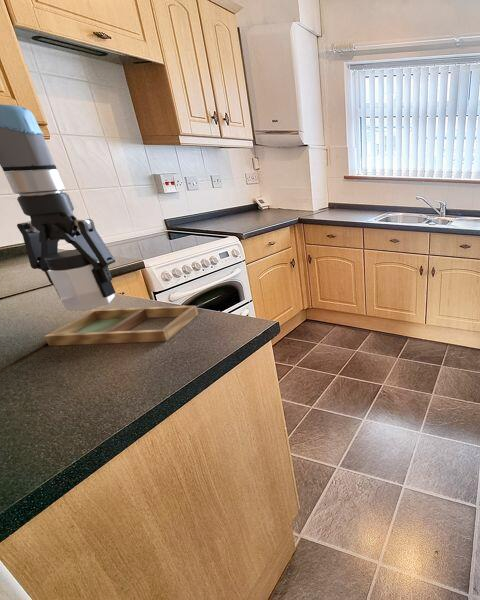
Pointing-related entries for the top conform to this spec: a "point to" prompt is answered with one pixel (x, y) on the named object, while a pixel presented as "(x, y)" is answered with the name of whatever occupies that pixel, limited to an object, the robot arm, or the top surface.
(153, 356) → the top surface
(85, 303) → the jar
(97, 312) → the organiser
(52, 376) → the top surface
